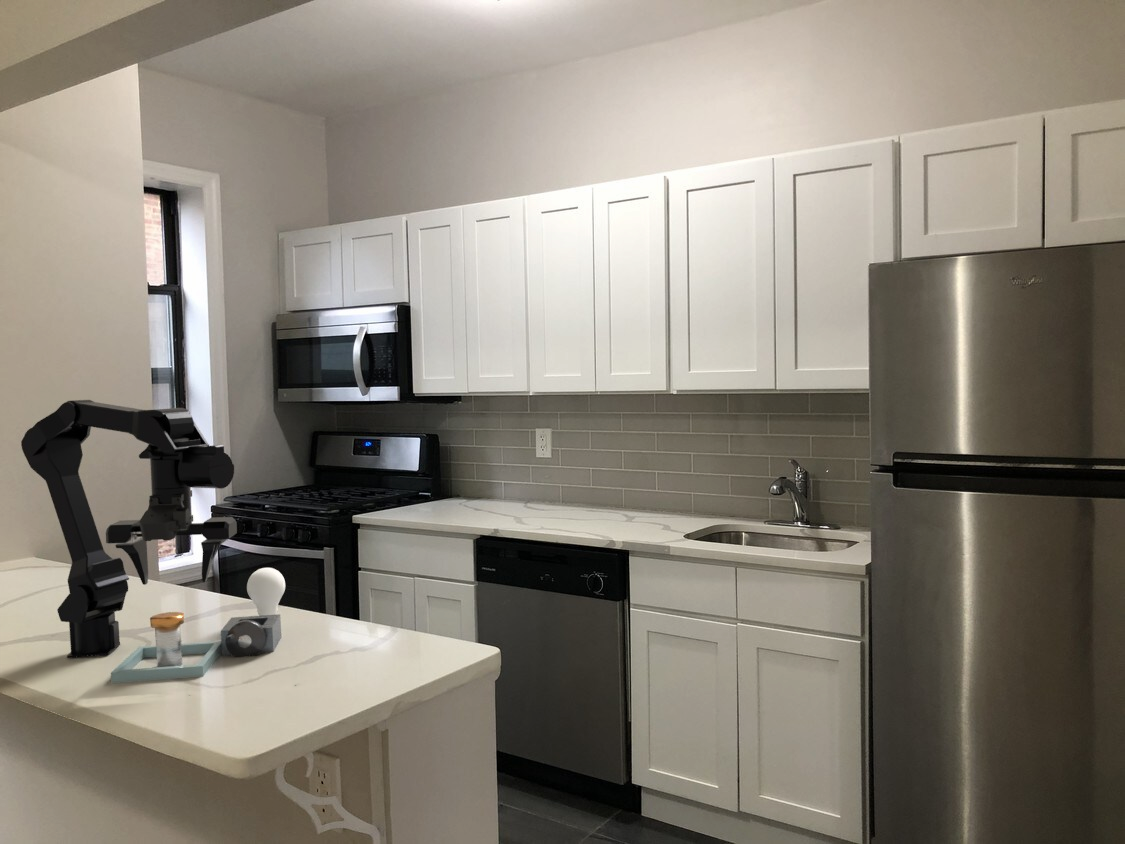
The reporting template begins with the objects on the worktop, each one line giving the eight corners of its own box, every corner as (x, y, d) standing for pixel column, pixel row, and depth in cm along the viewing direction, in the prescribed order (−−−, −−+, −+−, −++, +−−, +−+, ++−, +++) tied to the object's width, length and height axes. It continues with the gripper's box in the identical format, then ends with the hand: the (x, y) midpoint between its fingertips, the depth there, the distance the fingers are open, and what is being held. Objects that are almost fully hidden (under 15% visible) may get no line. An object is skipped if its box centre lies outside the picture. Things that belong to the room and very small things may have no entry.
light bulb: (275, 633, 161) (272, 572, 160) (241, 632, 162) (238, 571, 162) (294, 623, 167) (291, 564, 167) (261, 622, 169) (258, 563, 168)
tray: (111, 689, 134) (110, 672, 134) (139, 661, 147) (138, 646, 147) (203, 682, 136) (202, 666, 136) (223, 655, 149) (222, 640, 149)
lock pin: (149, 674, 139) (146, 621, 138) (158, 664, 143) (155, 613, 143) (181, 671, 139) (179, 619, 139) (190, 661, 144) (187, 611, 144)
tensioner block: (219, 665, 144) (217, 625, 144) (232, 646, 154) (231, 608, 153) (271, 661, 145) (269, 621, 145) (281, 643, 155) (279, 605, 155)
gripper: (89, 495, 136) (94, 598, 137) (217, 491, 138) (221, 592, 139) (117, 486, 147) (121, 580, 148) (235, 482, 149) (239, 576, 150)
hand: (175, 582), depth 146 cm, fingers open, 9 cm apart
